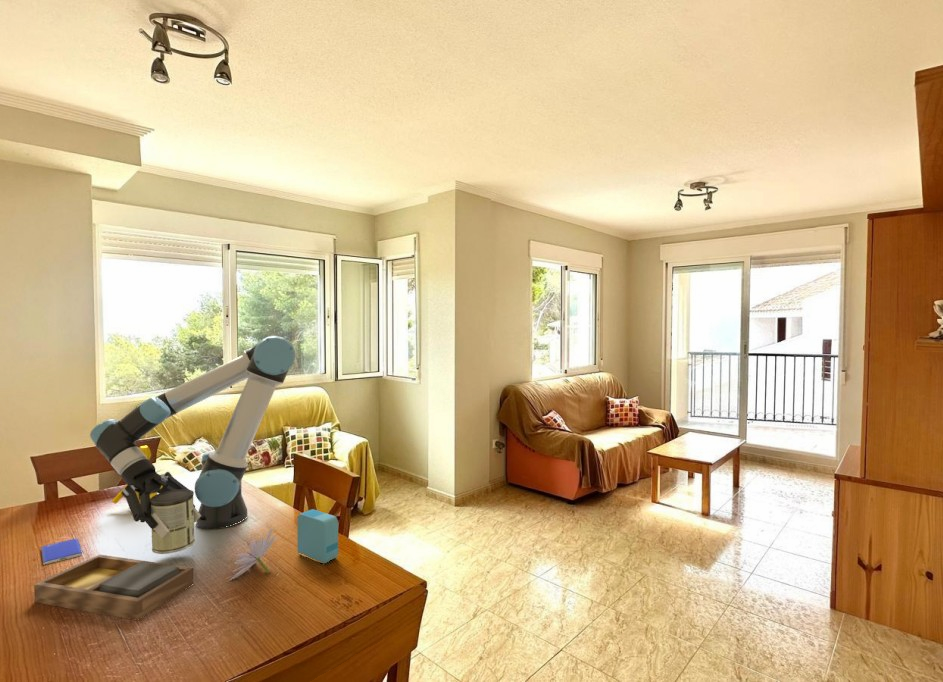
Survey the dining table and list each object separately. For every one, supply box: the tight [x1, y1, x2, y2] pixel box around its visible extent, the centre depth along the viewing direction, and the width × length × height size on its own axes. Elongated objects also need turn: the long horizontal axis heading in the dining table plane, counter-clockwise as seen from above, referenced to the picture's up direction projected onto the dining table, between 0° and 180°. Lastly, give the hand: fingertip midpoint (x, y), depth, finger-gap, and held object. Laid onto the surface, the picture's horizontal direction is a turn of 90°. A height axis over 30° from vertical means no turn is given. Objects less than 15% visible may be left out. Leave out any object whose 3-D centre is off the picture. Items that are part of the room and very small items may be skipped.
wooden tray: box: [33, 554, 195, 621], centre depth 116 cm, size 30×16×5 cm, turn 76°
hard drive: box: [41, 538, 83, 566], centre depth 137 cm, size 2×8×12 cm
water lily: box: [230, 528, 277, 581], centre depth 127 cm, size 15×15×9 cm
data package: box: [296, 508, 339, 564], centre depth 135 cm, size 12×4×12 cm, turn 57°
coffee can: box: [150, 489, 196, 555], centre depth 134 cm, size 10×10×14 cm
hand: (182, 526), depth 133 cm, fingers closed on coffee can, 10 cm apart
